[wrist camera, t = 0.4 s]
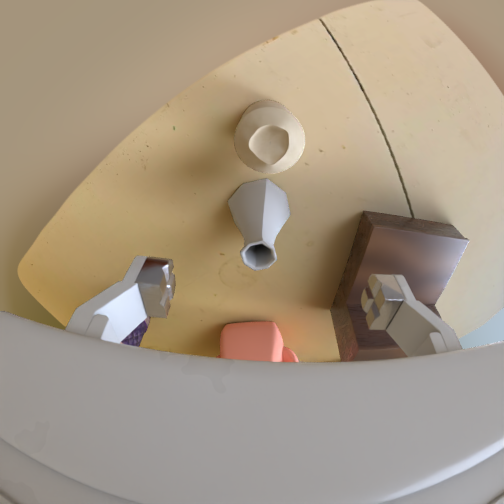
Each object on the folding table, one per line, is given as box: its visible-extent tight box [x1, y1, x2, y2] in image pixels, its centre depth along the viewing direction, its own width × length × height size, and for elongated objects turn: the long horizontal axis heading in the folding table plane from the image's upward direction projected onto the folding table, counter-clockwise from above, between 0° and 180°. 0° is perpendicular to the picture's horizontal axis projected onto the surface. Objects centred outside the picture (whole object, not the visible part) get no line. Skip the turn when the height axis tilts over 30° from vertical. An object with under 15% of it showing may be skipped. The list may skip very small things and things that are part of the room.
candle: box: [234, 100, 305, 173], centre depth 23 cm, size 6×6×10 cm
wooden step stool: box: [330, 211, 469, 362], centre depth 33 cm, size 18×16×12 cm
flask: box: [227, 178, 290, 271], centre depth 29 cm, size 7×7×10 cm
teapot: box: [216, 321, 298, 362], centre depth 43 cm, size 12×18×10 cm, turn 98°
